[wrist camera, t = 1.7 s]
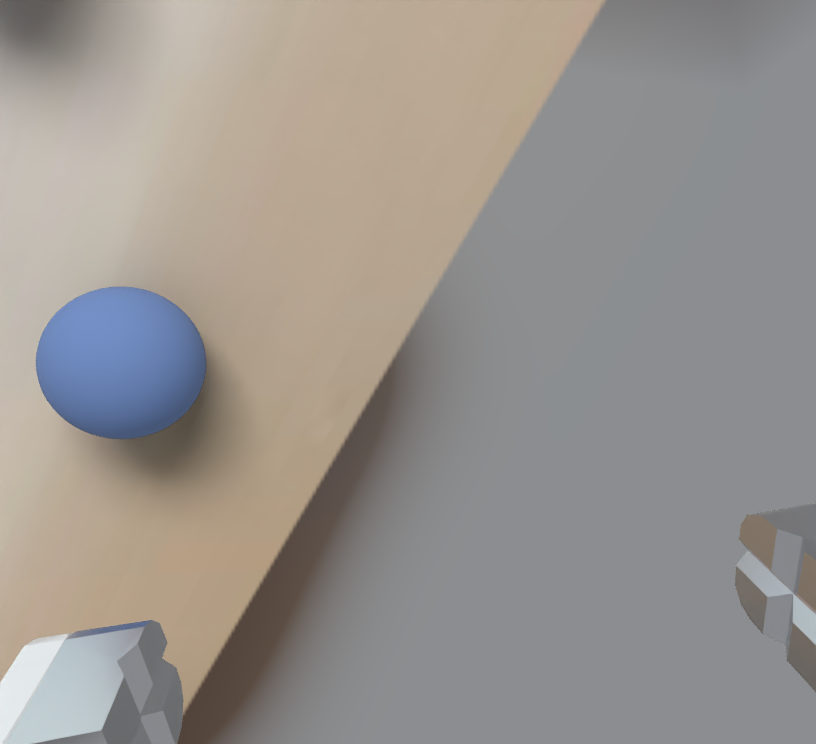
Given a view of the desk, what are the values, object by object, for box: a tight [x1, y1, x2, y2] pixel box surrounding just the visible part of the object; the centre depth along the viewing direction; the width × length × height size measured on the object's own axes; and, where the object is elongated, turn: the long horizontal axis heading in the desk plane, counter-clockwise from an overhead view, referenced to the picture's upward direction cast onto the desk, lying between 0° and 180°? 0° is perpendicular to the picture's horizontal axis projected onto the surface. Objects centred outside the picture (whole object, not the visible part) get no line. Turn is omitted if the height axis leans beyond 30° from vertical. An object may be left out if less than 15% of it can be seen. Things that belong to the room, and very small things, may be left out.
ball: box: [36, 287, 206, 439], centre depth 23 cm, size 6×6×6 cm
